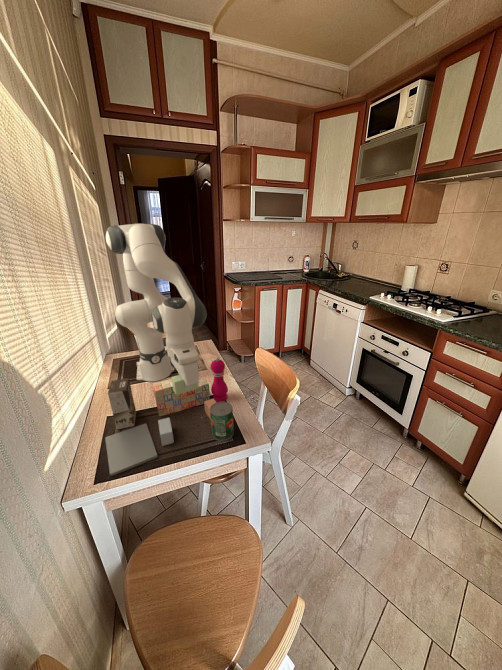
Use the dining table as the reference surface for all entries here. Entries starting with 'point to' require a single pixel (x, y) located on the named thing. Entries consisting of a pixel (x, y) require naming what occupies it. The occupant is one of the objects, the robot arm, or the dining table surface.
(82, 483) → the dining table surface
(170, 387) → the stack of blocks
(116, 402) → the coffee box
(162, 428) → the slate brick
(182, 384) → the sage brick
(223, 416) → the canned tomato
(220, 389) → the pepper mill
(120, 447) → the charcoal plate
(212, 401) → the terracotta brick
